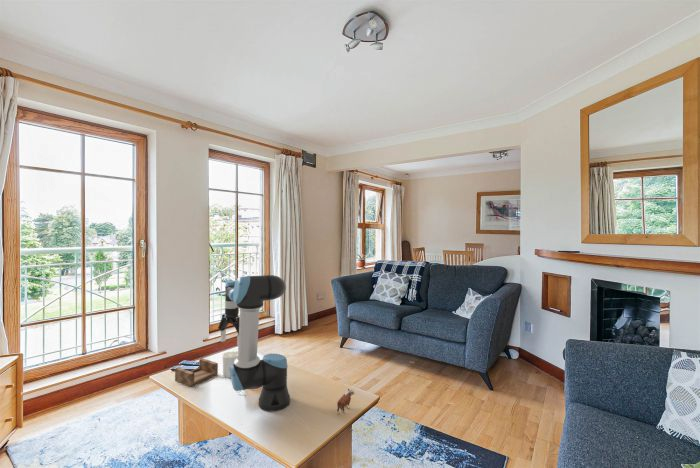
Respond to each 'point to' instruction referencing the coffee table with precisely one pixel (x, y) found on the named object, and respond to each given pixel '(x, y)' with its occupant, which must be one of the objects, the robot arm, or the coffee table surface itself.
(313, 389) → the coffee table surface
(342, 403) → the bull figurine
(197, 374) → the wooden tray
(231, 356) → the candle holder
